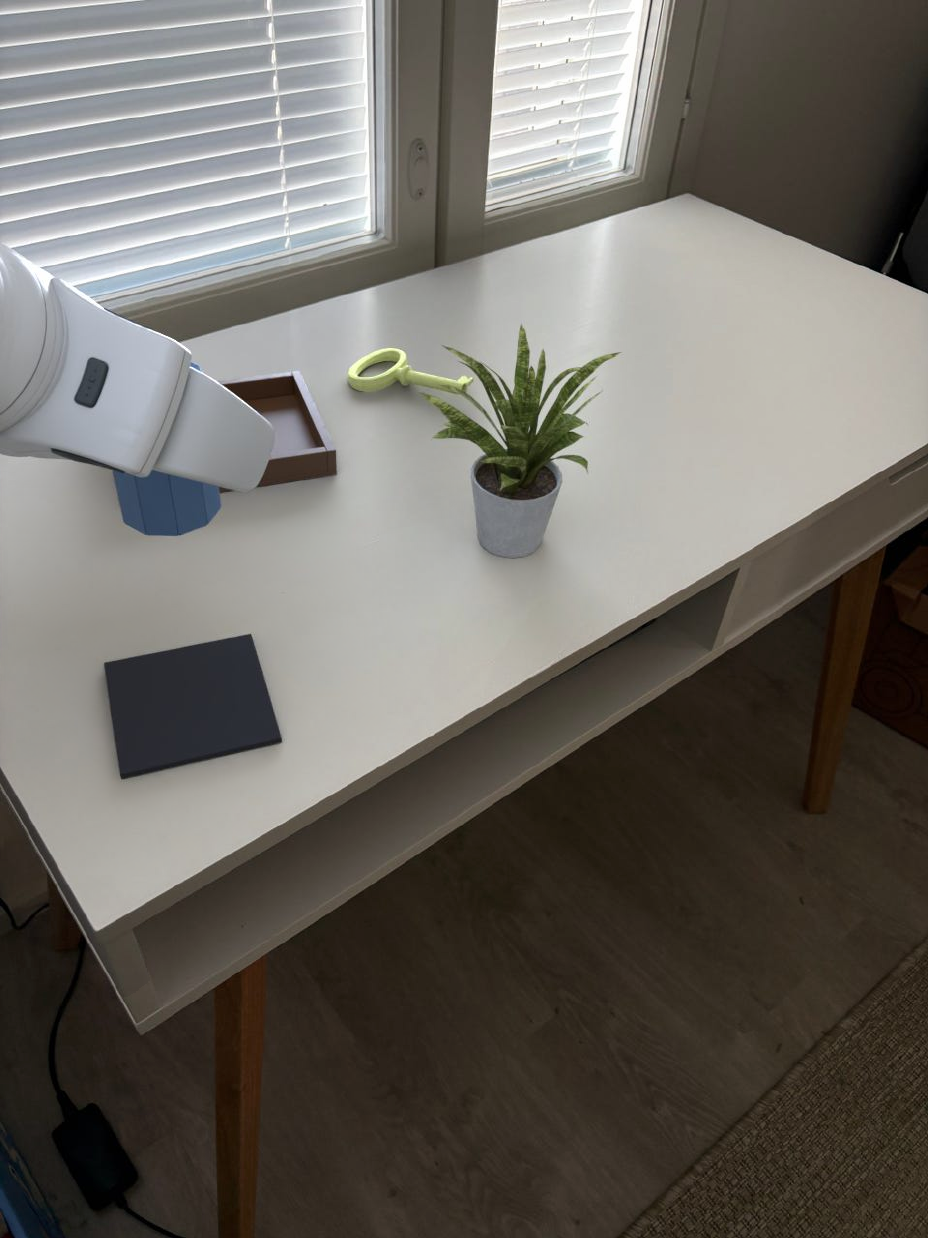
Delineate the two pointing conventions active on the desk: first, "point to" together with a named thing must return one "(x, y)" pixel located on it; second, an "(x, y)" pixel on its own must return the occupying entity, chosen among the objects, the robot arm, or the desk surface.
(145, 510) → the blue faceted tube
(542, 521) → the house plant
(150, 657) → the mat
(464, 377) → the key
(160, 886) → the desk surface
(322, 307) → the desk surface
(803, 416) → the desk surface
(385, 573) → the desk surface
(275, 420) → the tray
